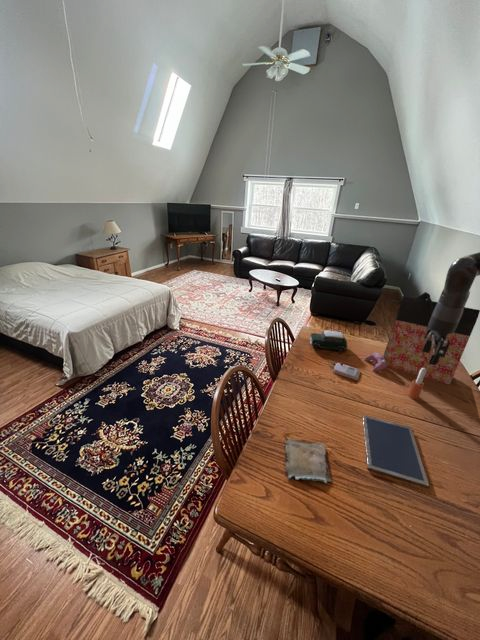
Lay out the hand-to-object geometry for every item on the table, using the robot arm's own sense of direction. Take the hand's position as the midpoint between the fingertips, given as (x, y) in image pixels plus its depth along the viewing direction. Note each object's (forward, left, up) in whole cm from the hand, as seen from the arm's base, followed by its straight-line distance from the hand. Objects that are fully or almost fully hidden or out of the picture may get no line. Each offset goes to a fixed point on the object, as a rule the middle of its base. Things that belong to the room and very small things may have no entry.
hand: (428, 357), depth 96 cm
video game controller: (+12, -17, -18) cm, 28 cm away
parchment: (+36, +43, -18) cm, 59 cm away
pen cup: (0, 0, -18) cm, 18 cm away
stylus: (0, 0, -18) cm, 18 cm away
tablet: (+12, +29, -18) cm, 36 cm away
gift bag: (-3, -22, -18) cm, 29 cm away
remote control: (+25, -7, -18) cm, 32 cm away
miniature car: (+33, -27, -18) cm, 46 cm away
